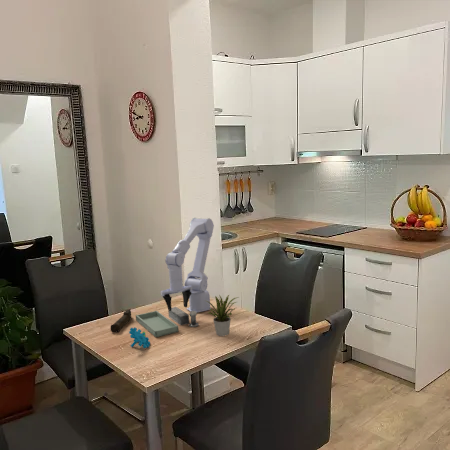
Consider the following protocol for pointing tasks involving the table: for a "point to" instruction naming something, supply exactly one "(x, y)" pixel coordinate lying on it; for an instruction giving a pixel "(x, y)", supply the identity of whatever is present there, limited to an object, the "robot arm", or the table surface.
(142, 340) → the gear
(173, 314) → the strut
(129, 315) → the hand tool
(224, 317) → the house plant
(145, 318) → the bin tray
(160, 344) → the table surface
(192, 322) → the stud post
